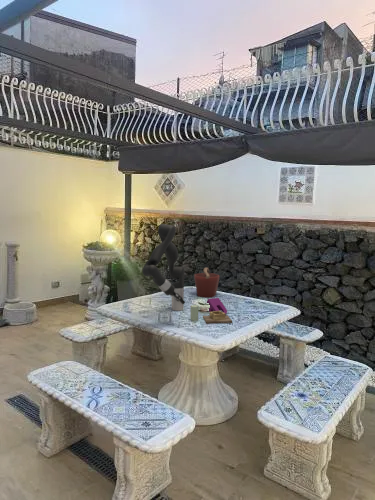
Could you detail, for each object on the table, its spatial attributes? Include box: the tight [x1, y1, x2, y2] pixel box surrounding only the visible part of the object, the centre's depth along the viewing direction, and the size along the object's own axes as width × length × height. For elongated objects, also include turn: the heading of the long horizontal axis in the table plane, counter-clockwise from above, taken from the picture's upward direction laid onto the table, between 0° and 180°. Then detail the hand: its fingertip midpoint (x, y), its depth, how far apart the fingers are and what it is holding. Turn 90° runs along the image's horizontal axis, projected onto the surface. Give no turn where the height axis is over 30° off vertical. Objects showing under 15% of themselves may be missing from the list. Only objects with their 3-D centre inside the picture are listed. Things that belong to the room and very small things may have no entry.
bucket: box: [193, 267, 221, 299], centre depth 332 cm, size 24×22×25 cm
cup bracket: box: [202, 311, 233, 325], centre depth 260 cm, size 14×18×6 cm
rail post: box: [189, 304, 199, 322], centre depth 260 cm, size 4×4×10 cm
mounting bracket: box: [206, 297, 228, 315], centre depth 280 cm, size 10×8×18 cm
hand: (181, 301), depth 254 cm, fingers open, 8 cm apart
